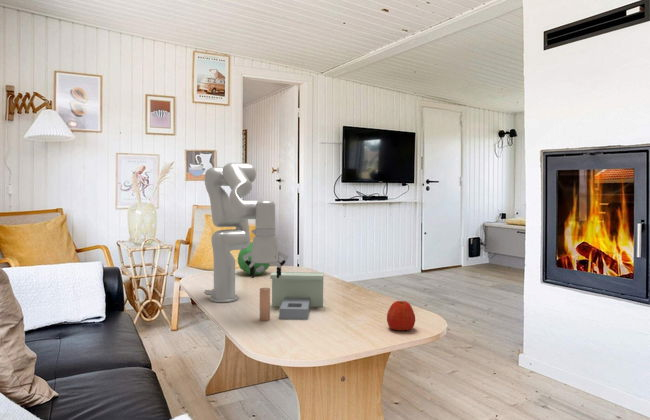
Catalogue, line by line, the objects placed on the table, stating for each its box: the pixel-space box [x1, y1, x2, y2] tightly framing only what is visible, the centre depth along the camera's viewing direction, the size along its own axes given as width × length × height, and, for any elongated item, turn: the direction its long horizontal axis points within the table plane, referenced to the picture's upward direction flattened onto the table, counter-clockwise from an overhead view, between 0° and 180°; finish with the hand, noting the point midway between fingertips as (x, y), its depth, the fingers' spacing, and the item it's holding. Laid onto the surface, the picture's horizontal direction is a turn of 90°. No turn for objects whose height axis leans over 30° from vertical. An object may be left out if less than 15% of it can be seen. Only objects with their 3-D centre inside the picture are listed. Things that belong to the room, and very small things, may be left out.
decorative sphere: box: [237, 241, 271, 276], centre depth 255 cm, size 19×20×20 cm
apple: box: [386, 300, 416, 332], centre depth 159 cm, size 10×10×10 cm
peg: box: [259, 287, 271, 322], centre depth 169 cm, size 4×4×12 cm
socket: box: [278, 297, 311, 320], centre depth 178 cm, size 11×18×4 cm, turn 179°
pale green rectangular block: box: [269, 271, 324, 308], centre depth 186 cm, size 22×7×14 cm, turn 89°
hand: (265, 277), depth 168 cm, fingers open, 9 cm apart
